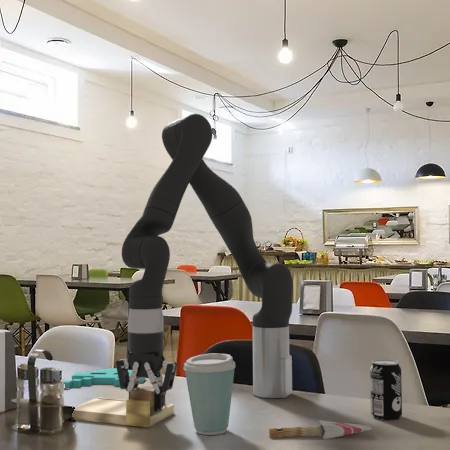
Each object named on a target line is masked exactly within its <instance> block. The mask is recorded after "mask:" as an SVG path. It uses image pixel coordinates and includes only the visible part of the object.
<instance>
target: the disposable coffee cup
mask: <svg viewBox="0 0 450 450" xmlns="http://www.w3.org/2000/svg"><path fill="white" fill-rule="evenodd" d="M235 368H236V362H235V361H234V360H233V356H231V354H227V353H215V352H213V353H212V352H211V353H205V354H198V355H195V356H192V357H189V358H188V359H186V360H185V362H184V363H183V368H182V369H183V370H184V374H185V379H186V380H185V381H186V384H187V385H186V386H187V390H188V397H189V403H190V410H191V414H192V415H191V416H192V419H193V420H192V421H193V427H194V429H195V430H196V431H195V432H196V433H197V434H199V435H202V436H204V435H205V436H216V435H222V434H224V433H226V432H227V431H228V427H229V424H230V423H229V422H230V416H231V415H230V414H231V413H230V412H231V405H232V395H233V387H234V386H233V385H234V378H235V377H234V376H235Z"/></svg>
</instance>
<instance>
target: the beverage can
mask: <svg viewBox="0 0 450 450" xmlns="http://www.w3.org/2000/svg"><path fill="white" fill-rule="evenodd" d="M371 362H372V364H371V366H370V368H369V375H370V377H369V379H370V413H371V415H372V416H373V418H375V419H376V420H381V421H397V420H399V419H400V418H401V416H402V415H403V395H402V393H403V390H402V368H401V366H400V361H399V360H394V359H387V358H386V359H381V358H380V359H373V360H372V361H371Z"/></svg>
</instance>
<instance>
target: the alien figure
mask: <svg viewBox="0 0 450 450" xmlns="http://www.w3.org/2000/svg"><path fill="white" fill-rule="evenodd" d="M128 372H129V377H130V375H131V372H132V369H128ZM145 379H147V378H145V377H142V379H141V380H140V382H139V384H142V383H144V382H145V381H146V380H145ZM144 380H145V381H144ZM63 381H64V384H65V388H70V387H71V388H81V387H82V386H84V387H85V386H89V387H90V386H92V385H113V387H119V388H120V389H122V388H121V387H120V383H119V378H118V373H117V368H116V367H115V368H107V367H106V368H104V369H96V370H92V371H91V370H87V371H85V372H75V373H74V374H72V375H71V380H63ZM71 388H70V389H71ZM125 390H126V391H128V390H127V389H125Z"/></svg>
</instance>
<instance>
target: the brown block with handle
mask: <svg viewBox="0 0 450 450" xmlns="http://www.w3.org/2000/svg"><path fill="white" fill-rule="evenodd" d="M154 394H156V393H155V391H154V388H153V386H148V385H139V386H138V388H135V389H133V390H130V399H129V398H128V399H125V400H126V425H125V426H131V425H134V426H133V427H140V426H143V427H142V428H149V427H148V426H150V417H151V416H153V415H155V414H157V413H159V412H161V411H162V409H161V410H160V411H158V412H156V411H154ZM166 396H167V391H165V392H164V404H166ZM150 427H151V426H150Z"/></svg>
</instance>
